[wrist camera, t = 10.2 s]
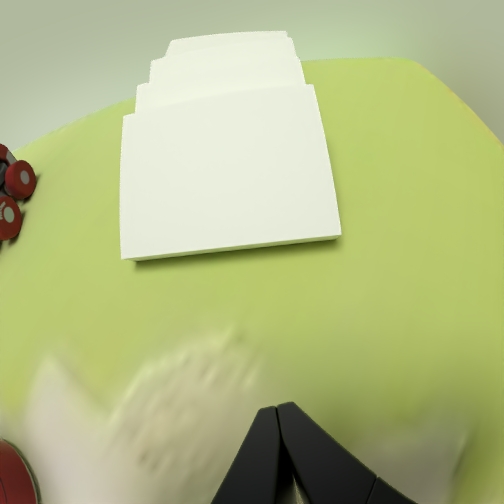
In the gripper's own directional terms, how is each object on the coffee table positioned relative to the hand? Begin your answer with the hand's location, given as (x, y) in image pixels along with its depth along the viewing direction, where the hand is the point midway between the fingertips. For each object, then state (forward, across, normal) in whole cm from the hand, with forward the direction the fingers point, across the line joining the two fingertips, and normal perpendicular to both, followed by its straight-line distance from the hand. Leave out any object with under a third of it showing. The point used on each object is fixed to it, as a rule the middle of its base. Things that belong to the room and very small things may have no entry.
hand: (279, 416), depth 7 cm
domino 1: (+12, +1, -2) cm, 12 cm away
